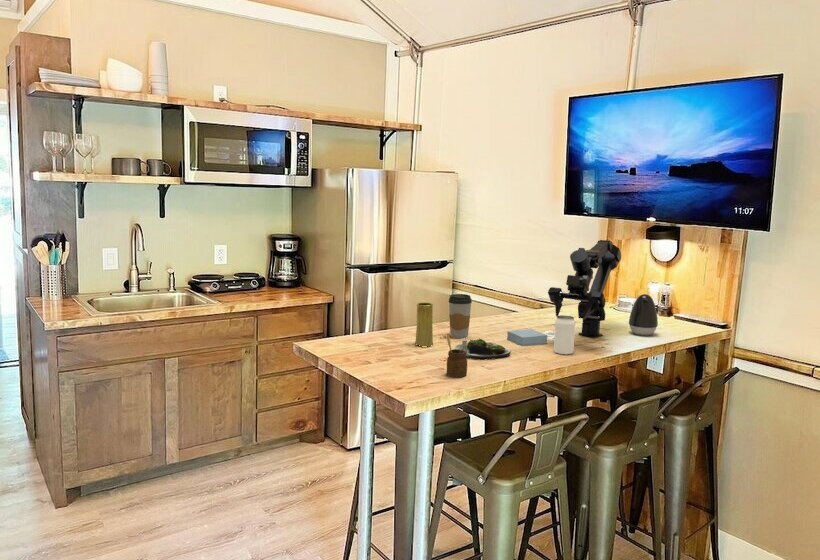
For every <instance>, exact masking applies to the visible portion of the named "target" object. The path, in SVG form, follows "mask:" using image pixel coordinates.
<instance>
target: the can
mask: <svg viewBox="0 0 820 560" xmlns="http://www.w3.org/2000/svg"><path fill="white" fill-rule="evenodd" d="M554 332H555V333H554V340H553V352H554V353H555V354H557V353H558V355H561V354H565V356H566V355H567V356H568V354H570V355H573V353H574V351H575V336H576V335H575V333H576V321H575V317H574V316H572V315H566V314H565V315H561V314H560V315H558V316H556V319H555V322H554Z"/></svg>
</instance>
